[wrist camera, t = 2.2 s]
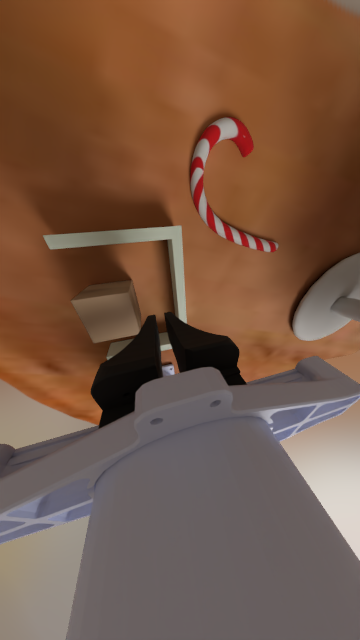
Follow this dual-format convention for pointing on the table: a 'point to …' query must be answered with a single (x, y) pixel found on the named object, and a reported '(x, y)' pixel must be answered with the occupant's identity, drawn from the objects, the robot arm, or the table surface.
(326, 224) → the table surface
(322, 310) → the candelabra
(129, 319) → the tan cube
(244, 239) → the candy cane
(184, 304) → the sage corner frame
